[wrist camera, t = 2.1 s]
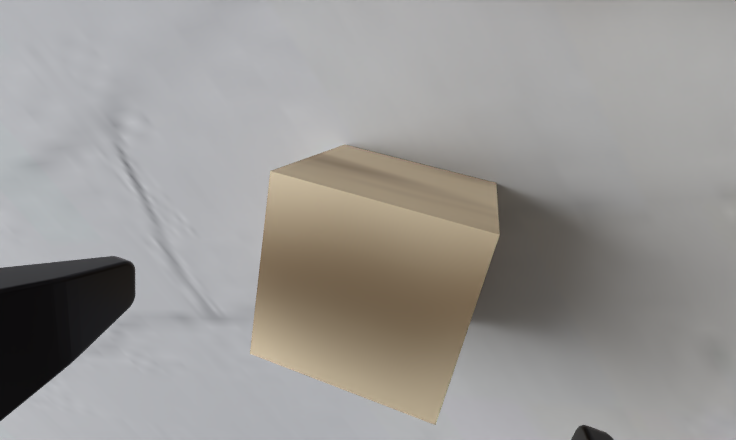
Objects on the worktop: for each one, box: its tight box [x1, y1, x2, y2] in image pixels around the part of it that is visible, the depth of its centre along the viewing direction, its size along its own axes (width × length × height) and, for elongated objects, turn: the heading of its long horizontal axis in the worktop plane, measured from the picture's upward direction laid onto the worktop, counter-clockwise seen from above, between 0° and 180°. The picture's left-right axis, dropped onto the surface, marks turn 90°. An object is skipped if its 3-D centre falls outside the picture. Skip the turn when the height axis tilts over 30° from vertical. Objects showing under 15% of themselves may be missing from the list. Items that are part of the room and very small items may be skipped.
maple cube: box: [250, 145, 500, 425], centre depth 11 cm, size 5×5×5 cm
